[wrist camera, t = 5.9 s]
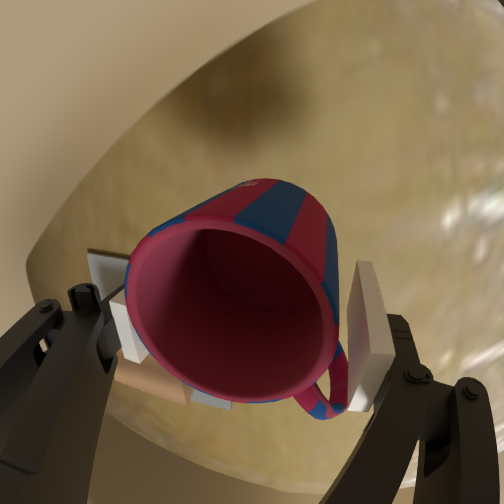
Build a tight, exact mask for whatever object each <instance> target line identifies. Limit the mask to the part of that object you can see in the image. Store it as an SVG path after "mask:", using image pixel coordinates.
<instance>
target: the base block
mask: <svg viewBox="0 0 504 504" xmlns="http://www.w3.org/2000/svg"><path fill="white" fill-rule="evenodd" d="M116 354H117V357H118V364H117V367H116V370H115V374H114V377H115V380H116V381H118V382H121V383H123V384H126V385H128V386H131V387H133V388H136V389H139V390H141V391H144V392H147V393H150V394H153V395H155V396H158V397H161V398H164V399H167V400H170V401H174V402H177V403H180V404H183V405H187V403H188V402H189V400H190V398H191V396H192V394H193V392H194V390H195V389H194V388H192V387H190V386H189V385H187V384H185V383H183V382H182V381H180V380H179V379H177V378H176V377H175V376H173V375H172V374H171V373H169V372H168V371H167V370H166V369H165V368H164V367H162V366H161V365H160V364H159V363H158V362H157V361H156V359H155V358H154V357H153V356H152V355H151V354H150V353H149V354H148V355H147V356H146V357H145V359H144V360H143V361H142V362H141V363H140V364H139V363H136V362H133V361H131V360H128V359H125V357H124V354H123V351H122V348H120V349H119V351H118V352H117V353H116Z"/></svg>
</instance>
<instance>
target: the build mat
mask: <svg viewBox="0 0 504 504" xmlns="http://www.w3.org/2000/svg"><path fill="white" fill-rule="evenodd" d="M87 258H88V263H89V268H90V273H91V278H92V283H93V284H95V285H97V287H98V290H99V294H100V298H101V301H102V300H103V299H104V298H106V297H107V296H108V295H109V294H111V293H112V292H113V291H114V290H116V289H117V288H118V287H120V286H122V284H123V283H124V280H125V274H126V268H127V265H128V262H129V260H130V259H127V258H121V257H115V256H109V255H104V254H98V253H92V252H88V253H87ZM190 400H192V401H195V402H199V403H202V404H206V405H210V406H214V407H218V408H222V409H227V410H231V409H232V401H227V400H223V399H220V398H216V397H213V396H210V395H208V394H205V393H203V392H200V391H198V390H196V389H195V390H194V392H193V394H192V396H191V398H190Z"/></svg>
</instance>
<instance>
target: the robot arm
mask: <svg viewBox="0 0 504 504" xmlns="http://www.w3.org/2000/svg"><path fill="white" fill-rule="evenodd" d="M499 1H500V2H501V3H502V4H503V5H504V0H499ZM67 292H68V295H69V299H70V302H71V306H72V309H73V310H72V311H62V309H61V306H60V303H59V301H57V300H55V299H48V300H47V299H46V300H43V301H41V302H39V303H38V304H36V305H35V306H34V307H33V308H32V309H31V310H30V311H28V312H27V313H26V314H25V315H24V316H23V317H22V318H21V319H20V320H19V321H18V322H16V323H15V324H14V325H13V326H12V327H11V328H10V329H9V330H8V331H7V332H6V333H5V334H4V335H3V336H2V337H1V338H0V504H87V498H88V491H89V485H90V478H91V472H92V467H93V461H94V456H95V451H96V446H97V441H98V437H99V432H100V428H101V423H102V419H103V415H104V411H105V407H106V403H107V399H108V395H109V392H110V388H111V384H112V381H113V377H114V374H115V370H116V367H117V364H118V357H117V354H116V353H117V352H118V351H119V349H120V348H122V351H123V354H124V357H125V359H128V360H131V361H133V362H136V363H139V364H140V363H141V362H142V361H143V360H144V359H145V357H146V356H147V355H148V354H149V352H148V350H147V349H146V347H145V346H144V345H143V343H142V342H141V340H140V339H139V337H138V335H137V333H136V331H135V329H134V327H133V325H132V323H131V320H130V317H129V314H128V311H127V306H126V301H125V295H124V283H123V284H122V286H120V287H118V288H117V289H116V290H114V291H113V292H112V293H111V294H109V295H108V296H107V297H106V298H104V299H103V300H102V301H101V298H100V294H99V290H98V287H97V285H95V284H92V283H83V284H79V285H76V286H74V287H72V288H70V289H69V290H68V291H67ZM347 326H348V408H347V410H349V411H362V412H369V410H370V408H371V406H372V404H373V403H374V413H373V415H372V417H371V418H370V420H369V422H368V424H367V425H366V427H365V429H364V430H363V431H364V432H363V434H362V436H361V437H360V439H359V441H358V443H357V445H356V446H355V448H354V450H353V452H352V453H351V455H350V457H349V458H348V460H347V462H346V463H345V465H344V467H343V468H342V470H341V471H340V473H339V475H338V476H337V478H336V479H335V481H334V482H333V484H332V485H331V487H330V488H329V490H328V491H327V493H326V494H325V496H324V497H323V498H322V500H321V501H320V502H319V504H392V502H393V500H394V498H395V496H396V494H397V491H398V489H399V487H400V485H401V482H402V480H403V478H404V475H405V473H406V470H407V468H408V465H409V463H410V460H411V458H412V455H413V452H414V449H415V446H416V444H417V441H418V440H420V441H419V456H418V467H417V477H416V485H415V492H414V499H413V504H500V489H499V488H500V484H499V465H498V453H497V444H496V436H495V429H494V423H493V417H492V412H491V407H490V402H489V397H488V393H487V390H486V388H485V386H484V385H483V384H482V383H481V382H480V381H478V380H476V379H474V378H471V377H463V378H461V379H459V380H458V381H457V383H456V384H455V386H450V385H447V384H443V383H440V382H437V381H434V380H433V375H432V373H431V371H430V370H429V369H428V368H427V367H426V366H424V365H422V364H420V360H419V357H418V353H417V350H416V347H415V343H414V340H413V337H412V333H411V330H410V327H409V324H408V322H407V321H406V320H405V319H404V318H403V317H402V316H401V315H394V314H386V310H385V306H384V302H383V299H382V295H381V291H380V288H379V284H378V281H377V277H376V274H375V270H374V267H373V264H372V262H368V261H360V260H357V262H356V267H355V273H354V278H353V282H352V287H351V292H350V296H349V301H348V305H347ZM42 339H44V342H45V344H46V346H47V350H46V351H45V352H43V351H42V349H41V347H40V344H39V342H40V341H41V340H42Z"/></svg>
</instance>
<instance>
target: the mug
mask: <svg viewBox="0 0 504 504" xmlns="http://www.w3.org/2000/svg"><path fill="white" fill-rule="evenodd" d="M124 295H125V301H126V306H127V311H128V314H129V317H130V320H131V323H132V325H133V327H134V329H135V331H136V333H137V335H138V337H139V339H140V340H141V342H142V343H143V345H144V346H145V347H146V349H147V350H148V352H149V353H150V354H151V355H152V356H153V357H154V358H155V359H156V361H157V362H158V363H159V364H160V365H161V366H162V367H164V368H165V369H166V370H167V371H168V372H169V373H171V374H172V375H173V376H175V377H176V378H177V379H179V380H180V381H182V382H183V383H185V384H187V385H189V386H190V387H192V388H194V389H196V390H198V391H200V392H203V393H205V394H208V395H210V396H213V397H216V398H220V399H223V400H227V401H233V402H240V403H267V402H275V401H279V400H282V399H286V398H289V397H292V396H293V397H294V398H295V400H296V401H297V402H298V404H299V405H300V406H301V407H302V408H303V409H304V410H305V411H306V412H307V413H308V414H310V415H311V416H313V417H314V418H316V419H320V420H325V419H331V418H333V417H335V416H337V415H339V414H341V413H343V412H344V411H345V410H346V408H347V406H348V362H347V359H346V356H345V353H344V350H343V348H342V346H341V344H340V342H339V340H338V339H339V274H338V251H337V239H336V234H335V229H334V226H333V224H332V222H331V219H330V217H329V215H328V214H327V212H326V211H325V209H324V208H323V206H322V205H321V204H320V203H319V202H318V201H317V200H316V199H315V198H314V197H313V196H312V195H311V194H309V193H308V192H307V191H305V190H304V189H302V188H300V187H298V186H296V185H294V184H292V183H289V182H285V181H282V180H278V179H268V178H265V179H253V180H250V181H246V182H242V183H240V184H238V185H236V186H234V187H232V188H230V189H228V190H226V191H224V192H222V193H220V194H218V195H216V196H214V197H212V198H210V199H208V200H206V201H204V202H202V203H200V204H198V205H197V206H195V207H193V208H191V209H189V210H187V211H185V212H183V213H181V214H180V215H178V216H176V217H174V218H172V219H170V220H168V221H167V222H165V223H163V224H161V225H159V226H158V227H156V228H154V229H152V230H151V231H150V232H149V233H148V234H147V235H146V236H145V237H144V238H143V239H142V240H141V241H140V242H139V244H138V245H137V246H136V248H135V249H134V251H133V252H132V255H131V257H130V260H129V262H128V265H127V268H126V274H125V280H124ZM327 368H328V370H329V376H330V388H331V390H330V399H329V401H328V400H327V399H326V397H325V396H324V395H323V394H322V392H321V390H320V388H319V387H318V385H317V383H316V381H317V380H318V379H319V378H320V377H321V376H322V375H323V374H324V373H325V372H326V370H327Z"/></svg>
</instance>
